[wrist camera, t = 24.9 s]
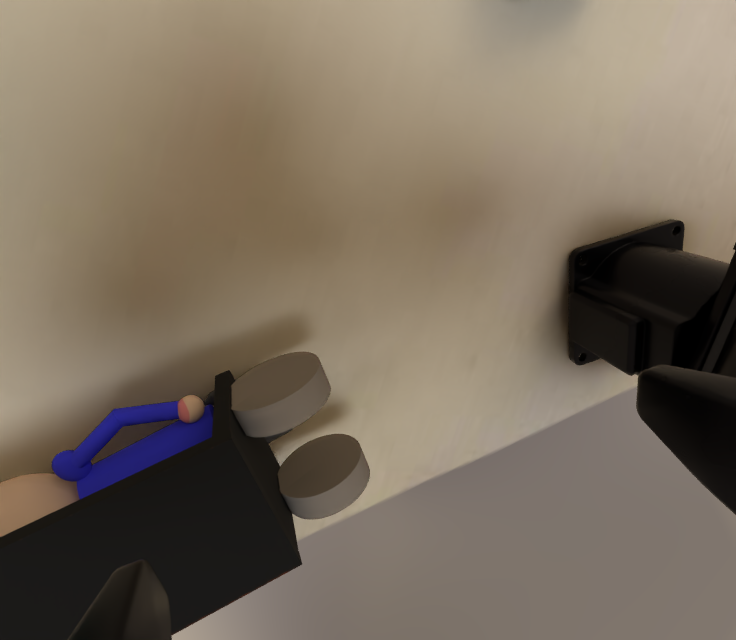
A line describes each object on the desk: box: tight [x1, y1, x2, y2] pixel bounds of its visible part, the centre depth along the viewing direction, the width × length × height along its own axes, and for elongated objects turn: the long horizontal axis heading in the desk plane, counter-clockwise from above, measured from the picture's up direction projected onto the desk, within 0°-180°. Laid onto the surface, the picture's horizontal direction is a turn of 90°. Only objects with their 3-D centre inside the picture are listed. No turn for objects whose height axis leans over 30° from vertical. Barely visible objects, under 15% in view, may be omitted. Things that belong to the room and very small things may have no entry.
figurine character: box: [0, 352, 370, 640], centre depth 18 cm, size 7×8×15 cm
